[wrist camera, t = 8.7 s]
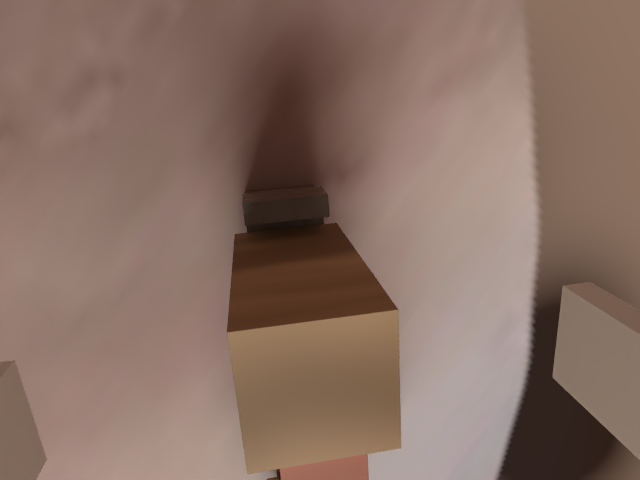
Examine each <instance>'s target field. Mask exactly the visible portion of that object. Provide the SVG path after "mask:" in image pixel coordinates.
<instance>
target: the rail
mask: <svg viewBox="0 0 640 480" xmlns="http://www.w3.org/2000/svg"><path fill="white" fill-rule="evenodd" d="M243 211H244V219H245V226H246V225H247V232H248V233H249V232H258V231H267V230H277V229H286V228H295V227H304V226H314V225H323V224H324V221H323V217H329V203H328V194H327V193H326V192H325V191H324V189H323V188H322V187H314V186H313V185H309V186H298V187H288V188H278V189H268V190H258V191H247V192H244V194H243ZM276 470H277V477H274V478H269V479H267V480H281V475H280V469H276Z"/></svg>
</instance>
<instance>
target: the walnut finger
mask: <svg viewBox="0 0 640 480" xmlns="http://www.w3.org/2000/svg"><path fill="white" fill-rule="evenodd" d="M227 336H228V342H229V349H230V356H231V363H232V370H233V377H234V384H235V391H236V398H237V404H238V411H239V418H240V425H241V432H242V439H243V446H244V453H245V460H246V466H247V473H248V474H252V473H258V472H264V471H270V470H276V469H280V475H281V480H369V476H368V455H367V454H369V453H375V452H381V451H387V450H393V449H399V448H401V416H400V369H399V321H398V309H397V307H396V306H395V304H394V303H393V302H392V300H391V299H390V297H389V296H388V295H387V293H386V292H385V290H384V289H383V288H382V286H381V285H380V283H379V282H378V281H377V279H376V278H375V276H374V275H373V274H372V272H371V271H370V269H369V268H368V267H367V265H366V264H365V262H364V261H363V260H362V258H361V257H360V255H359V254H358V252H357V251H356V250H355V248H354V247H353V245H352V244H351V243H350V241H349V240H348V238H347V237H346V236H345V234H344V233H343V231H342V230H341V229H340V227H339V226H338V224H337V223H332V224H323V225H314V226H304V227H295V228H286V229H277V230H267V231H258V232H249V233H240V234H235V239H234V252H233V264H232V277H231V289H230V302H229V315H228V327H227Z"/></svg>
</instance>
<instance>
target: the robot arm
mask: <svg viewBox="0 0 640 480" xmlns="http://www.w3.org/2000/svg"><path fill="white" fill-rule="evenodd" d="M553 378H554V379H555V380H556V381H557V382H558V383H559V384H560V385H561V386H562V387H563V388H564V389H565V390H566V391H568V392H569V393H570V394H571V395H572V396H573V397H574V398H575V399H576V400H577V401H578V402H579V403H580V404H581V405H582V406H583V407H584V408H585V409H587V410H588V411H589V412H590V413H591V414H592V415H593V416H594V417H595V418H596V419H597V420H598V421H599V422H600V423H601V424H603V426H604V427H606V428H607V429H608V430H609V431H610V432H611V433H612V434H613V435H614V436H615V437H616V438H617V439H618V440H619V441H620V442H621V443H622V444H623V445H624V446H626V447H627V448H628V449H629V450H630V451H631V452H632V453H633V454H634V455H635V456H636V457H637V458H638V459H639V460H640V310H638V309H636V308H634V307H633V306H631V305H629V304H627V303H626V302H624V301H622V300H620V299H619V298H617V297H615V296H613V295H612V294H610V293H608V292H606V291H605V290H603V289H601V288H599V287H598V286H596V285H594V284H592V283H591V282H588V283H581V284H573V285H566V286H563V289H562V299H561V308H560V316H559V326H558V334H557V343H556V352H555V360H554V370H553ZM46 460H47V459H46V455H45V452H44V449H43V446H42V443H41V440H40V437H39V434H38V431H37V428H36V424H35V421H34V418H33V415H32V412H31V409H30V406H29V403H28V400H27V397H26V394H25V390H24V387H23V384H22V381H21V378H20V375H19V372H18V369H17V366H16V363H15V360H13V361H6V362H0V480H36V479H37V477H38V475H39V473H40V471H41V469H42V467H43V465H44V463H45V462H46Z"/></svg>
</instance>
